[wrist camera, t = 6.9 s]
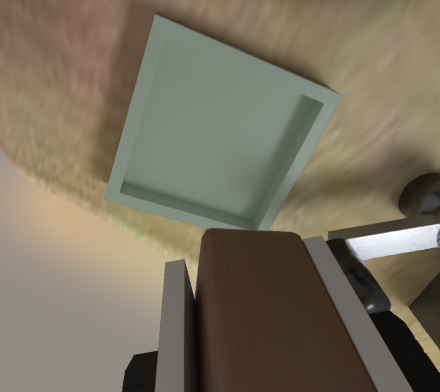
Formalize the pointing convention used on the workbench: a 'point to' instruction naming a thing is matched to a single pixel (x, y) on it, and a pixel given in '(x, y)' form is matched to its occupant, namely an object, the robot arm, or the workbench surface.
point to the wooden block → (268, 319)
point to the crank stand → (436, 291)
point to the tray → (214, 132)
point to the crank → (380, 251)
